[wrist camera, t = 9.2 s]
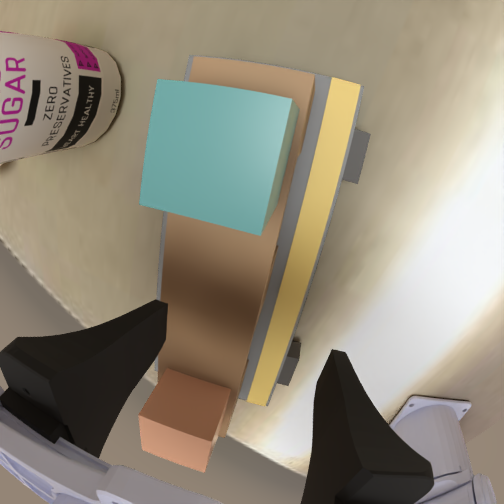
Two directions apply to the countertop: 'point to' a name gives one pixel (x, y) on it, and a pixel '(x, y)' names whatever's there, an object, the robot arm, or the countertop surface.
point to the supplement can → (53, 95)
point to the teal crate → (217, 153)
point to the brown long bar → (225, 254)
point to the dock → (300, 229)
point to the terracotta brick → (183, 419)
